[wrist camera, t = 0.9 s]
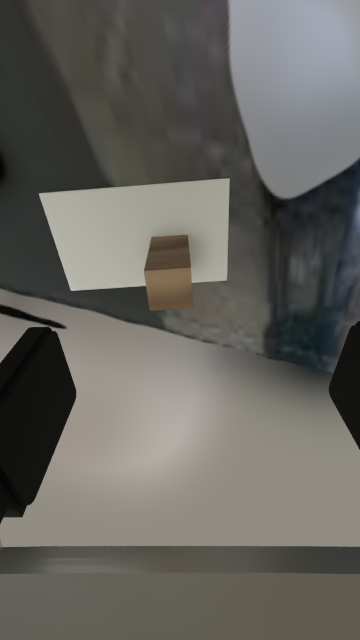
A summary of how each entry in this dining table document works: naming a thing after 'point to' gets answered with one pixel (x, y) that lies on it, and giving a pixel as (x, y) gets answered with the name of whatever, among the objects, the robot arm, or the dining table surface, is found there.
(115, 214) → the white rectangular board
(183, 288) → the walnut block
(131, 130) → the dining table surface
